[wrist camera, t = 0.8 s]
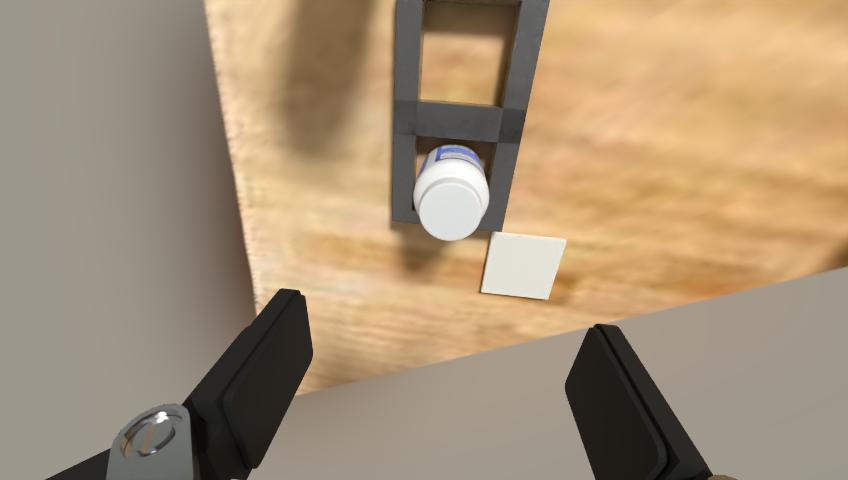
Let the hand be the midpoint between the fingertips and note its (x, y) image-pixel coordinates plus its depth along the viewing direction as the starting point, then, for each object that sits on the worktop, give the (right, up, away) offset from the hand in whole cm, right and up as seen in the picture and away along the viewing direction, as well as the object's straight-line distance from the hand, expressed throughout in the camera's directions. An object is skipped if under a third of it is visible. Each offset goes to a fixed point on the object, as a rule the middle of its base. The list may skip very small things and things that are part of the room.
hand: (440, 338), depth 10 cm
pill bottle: (+2, +9, +18) cm, 20 cm away
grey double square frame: (+2, +13, +16) cm, 21 cm away
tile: (+9, +1, +22) cm, 24 cm away
